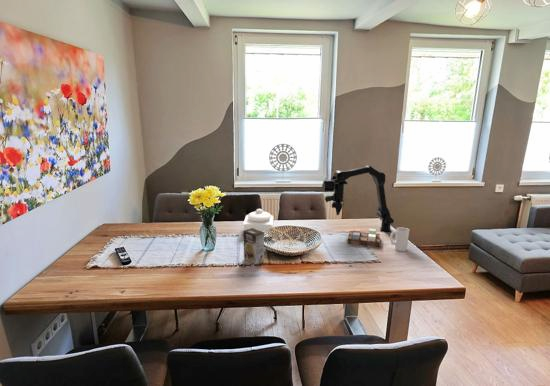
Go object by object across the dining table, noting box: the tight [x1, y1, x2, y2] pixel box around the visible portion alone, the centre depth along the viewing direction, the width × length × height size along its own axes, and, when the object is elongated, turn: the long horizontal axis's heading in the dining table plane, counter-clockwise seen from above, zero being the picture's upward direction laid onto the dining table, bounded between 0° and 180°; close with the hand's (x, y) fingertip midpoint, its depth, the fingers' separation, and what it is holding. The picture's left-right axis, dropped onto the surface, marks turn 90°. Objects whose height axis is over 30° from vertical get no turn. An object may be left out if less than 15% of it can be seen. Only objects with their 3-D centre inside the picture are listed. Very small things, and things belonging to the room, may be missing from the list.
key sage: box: [368, 228, 377, 235], centre depth 198 cm, size 4×4×4 cm
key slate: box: [352, 232, 360, 240], centre depth 195 cm, size 4×4×4 cm
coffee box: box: [243, 228, 265, 265], centre depth 171 cm, size 9×6×16 cm
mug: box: [389, 226, 410, 252], centre depth 185 cm, size 10×7×12 cm, turn 89°
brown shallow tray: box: [346, 230, 381, 248], centre depth 197 cm, size 14×18×3 cm
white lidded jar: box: [242, 208, 274, 232], centre depth 209 cm, size 18×18×16 cm
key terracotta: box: [352, 227, 361, 233], centre depth 201 cm, size 4×4×4 cm
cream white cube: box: [368, 234, 376, 242], centre depth 192 cm, size 4×4×4 cm
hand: (337, 215), depth 207 cm, fingers closed
